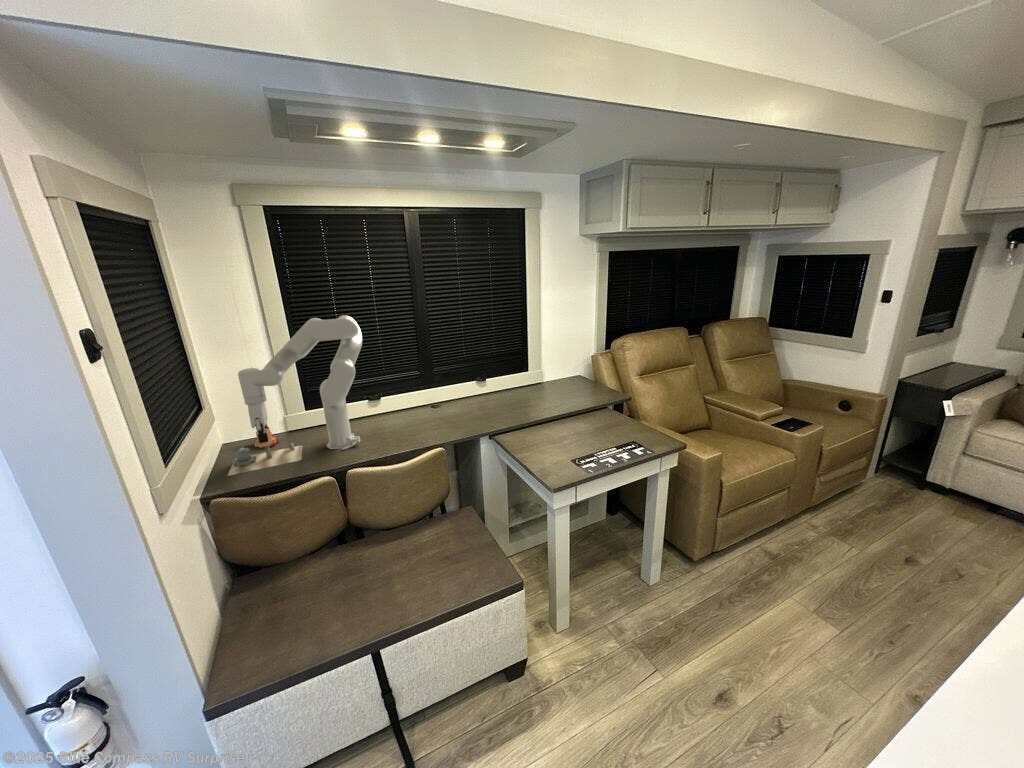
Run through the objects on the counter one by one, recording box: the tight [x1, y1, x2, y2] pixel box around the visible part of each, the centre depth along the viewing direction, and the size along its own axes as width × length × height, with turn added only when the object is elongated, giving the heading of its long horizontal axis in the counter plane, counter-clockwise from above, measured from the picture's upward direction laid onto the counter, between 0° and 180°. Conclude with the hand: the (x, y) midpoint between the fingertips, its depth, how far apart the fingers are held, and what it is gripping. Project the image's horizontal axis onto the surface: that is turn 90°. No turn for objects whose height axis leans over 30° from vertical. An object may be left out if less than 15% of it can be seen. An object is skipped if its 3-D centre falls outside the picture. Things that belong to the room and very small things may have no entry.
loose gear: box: [253, 428, 278, 449], centre depth 161 cm, size 8×8×6 cm
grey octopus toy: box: [232, 447, 257, 468], centre depth 160 cm, size 8×8×7 cm
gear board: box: [226, 442, 304, 477], centre depth 162 cm, size 26×16×8 cm, turn 116°
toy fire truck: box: [253, 426, 280, 450], centre depth 177 cm, size 7×12×10 cm, turn 57°
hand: (264, 438), depth 162 cm, fingers closed on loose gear, 5 cm apart
